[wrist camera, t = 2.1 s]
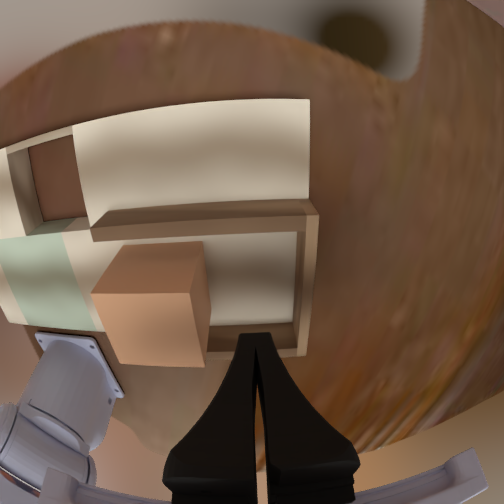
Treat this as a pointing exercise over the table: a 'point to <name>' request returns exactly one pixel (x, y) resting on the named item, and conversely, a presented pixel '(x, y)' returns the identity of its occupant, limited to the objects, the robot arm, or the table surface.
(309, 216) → the wooden frame
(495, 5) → the greeting card
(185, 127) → the plate
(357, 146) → the table surface
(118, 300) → the cube
